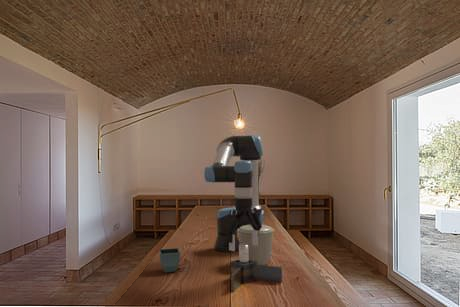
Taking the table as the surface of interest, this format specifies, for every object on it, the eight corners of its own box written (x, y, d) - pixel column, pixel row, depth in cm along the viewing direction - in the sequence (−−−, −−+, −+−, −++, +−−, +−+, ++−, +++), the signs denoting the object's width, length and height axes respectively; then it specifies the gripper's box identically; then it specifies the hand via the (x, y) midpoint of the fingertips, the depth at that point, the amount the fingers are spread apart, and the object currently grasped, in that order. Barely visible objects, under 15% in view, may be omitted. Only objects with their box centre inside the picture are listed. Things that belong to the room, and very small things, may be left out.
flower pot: (160, 274, 153) (160, 253, 153) (159, 268, 161) (159, 249, 161) (180, 272, 155) (180, 252, 155) (178, 267, 163) (178, 248, 164)
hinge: (251, 272, 155) (251, 256, 155) (283, 281, 142) (282, 264, 142) (212, 283, 140) (212, 266, 140) (243, 295, 127) (243, 276, 127)
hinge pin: (244, 276, 149) (243, 243, 150) (251, 278, 147) (250, 244, 147) (237, 278, 147) (236, 244, 147) (244, 280, 144) (243, 246, 144)
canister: (277, 259, 175) (276, 217, 176) (271, 270, 158) (271, 223, 159) (242, 257, 180) (242, 216, 181) (233, 267, 163) (232, 222, 163)
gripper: (257, 195, 159) (257, 242, 158) (215, 198, 142) (215, 251, 141) (269, 196, 153) (270, 244, 153) (227, 200, 137) (227, 254, 136)
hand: (243, 247), depth 147 cm, fingers open, 13 cm apart
